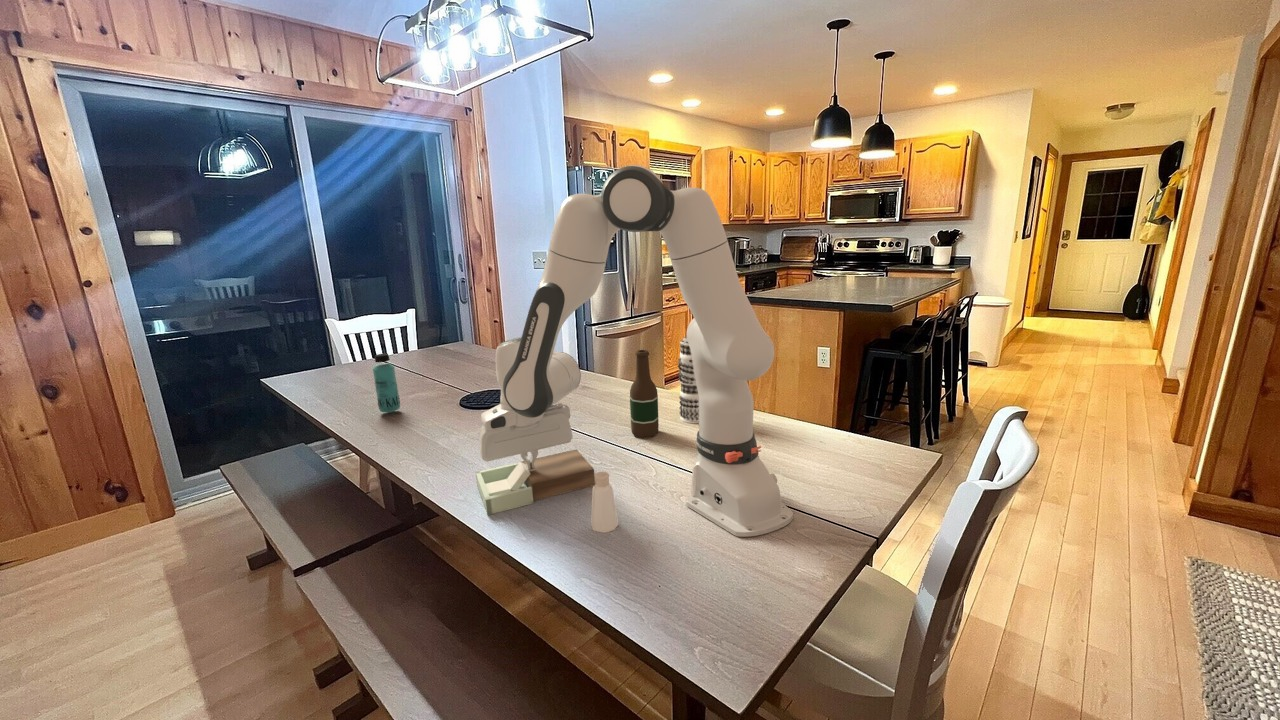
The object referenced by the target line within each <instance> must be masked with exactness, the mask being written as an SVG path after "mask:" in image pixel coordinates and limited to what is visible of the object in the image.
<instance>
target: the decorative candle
mask: <svg viewBox="0 0 1280 720" xmlns="http://www.w3.org/2000/svg"><path fill="white" fill-rule="evenodd" d="M679 344H680V347H679V350H680V352H679V358H678V360H677V363H678V365H677V368H678V375H679V376H678V381H679V383H680V391H679V393H680V395H679V397H678V398H679V400H680V401H679V407H678V409H679V410H680V411H679V415H680V417H679V419H680V421H681V422H683V423H687V424H699V400H698V391H697V385H696V379H695V374H694V368H693V362H692V355H691V350H690V347H689V344H688V341H687V336H684V337H683V338H682V339H681V340H680V341H679Z"/></svg>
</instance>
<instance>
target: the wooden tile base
mask: <svg viewBox="0 0 1280 720" xmlns="http://www.w3.org/2000/svg"><path fill="white" fill-rule="evenodd" d="M521 462H522V463H523V464H525V465H526V462H525V461H524V460H523V461H521ZM534 465H535V469H531V470H529V472H530V475H529V477H528V478H527V479H526V480H525V482H524V485H525V487H526V488H527V487H531V488H532V494H533V502H534V501H538V500H542V499H546V498H549V497H553V496H557V495H562V494H566V493H569V492H573V491H577V490H582V489H586V488H588V487H593V486H594V485H595V484H596V483H595V468H594V467H593V466H592V465H591V464H590V463H589V461H587V459H586V458H585V457H584V456H583V455H582V454H581V452H580V451H579V450H578V449H576V448H575V449H573V450H572V449H571V450H568V451H563V452H559V453H554V454H550V455H545V456H541V457H537V458H536V460H535V462H534Z"/></svg>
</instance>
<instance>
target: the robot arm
mask: <svg viewBox="0 0 1280 720" xmlns="http://www.w3.org/2000/svg"><path fill="white" fill-rule="evenodd" d="M620 230H622V231H625V232H630V233H642V232H643V233H645V232H659V234H660V235H661V237H662V238H663V241H664V244H665V246H666V249H667V252H668V256H669V259H670V262H671V265H672V268H673V272H674V274H675V278H676V281H677V285H678V286H679V290H680V293H681V297H682V299H683V301H684V302H685V303H686V306H687V307H688V309H689V310H690V312H691V314H692V317H693V318H692V320H690V322H689V324H688V326H687V328H686V337H687V341H688V344H689V347H690V350H691V355H692V362H693V368H694V374H695V379H696V385H697V391H698V400H699V423H698V431H697V433H696V438H695V439H696V441H695V443H696V451H697V456H696V459H695V461H694V463H693V466H692V472H691V473H692V474H691V484H690V495H689V496H688V497H687V499H686V501H685V505H686V507H687V508H690V509H691V510H693V511H695V512H696V513H698V514H699V515H701V516H702V517H704V518H706V519H707V520H710V522H712V523H713V524H715V525H717V526H719V527H720V528H722V529H724V530H726V531H727V532H729V533H730V534H732V535H734V536H735V537H742V538H743V537H748V538H749V537H756V536H762V535H765V534H768V533H772V532H775V531H777V530H779V529H780V530H781V528H784V527H785V526H787V525H788V524H790V523H791V522H792V520H793V519H794V512H793V511H792V510H791V509H790V508H789V507H788V506H786V504H785V503H784V502H782V500H781V499H782V498H781V490H780V487H779V485H778V484H777V483H778V479H777V476H776V474H774V473H770V472H769V470H768V468H767V467H766V465H765V464H764V463H763V461H762V459H761V458H760V456H759V452H760V453H761V452H762V450H761V448H762V446H761V445H760V446H758V444H757V442H758V441H757V439H756V436H755V434H754V406H755V405H754V401H755V400H754V397H753V394H752V391H751V389H750V386H749V384H748V381H754V380H757V379H759V378H761V377H762V376H764V375H765V374H766V373H767V372H768V370H770V368H771V366H772V364H773V363H774V362H773V361H774V358H775V345H774V343H773V340H772V339H771V337H770V336H769V334H768V333H767V332H766V331H765V330H764V328H763V326H762V324H761V323H760V321H759V319H758V317H757V314H756V313H755V309H754V308H753V306H752V305H751V302H750V300H749V298H748V296H747V294H746V293H745V289H744V288H743V286H742V283H741V280H740V278H739V275H738V272H737V269H736V265H735V261H734V259H733V255H732V251H731V248H730V245H729V242H728V241H729V240H728V237H727V234H726V230H725V227H724V225H723V223H722V219H721V218H720V215H719V212H718V210H717V207H716V205H715V204H714V202H713V200H712V198H711V196H710V195H709V193H708V192H707V191H706V190H704V189H702V188H698V187H693V186H692V187H683V188H681V189H677V190H671V189H669V188H668V186H666V185H665V183H663V181H662V180H661V178H660V177H659V176H658V175H657V174H656V173H655V172H654V171H653V170H652V169H650V168H647V167H646V166H644V165H643V166H642V165H640V164H639V165H637V164H630V165H626V166H623V167H620V168H618V169H616V170H614V171H613V172H612V173H611V174H610V175H609V176H608V177H607V178H606V180H605V181H604V184H603V186H602V188H601V193H600V194H596V195H595V194H589V193H584V192H582V193H574V194H571V195H569V196H567V197H565V199H564V200H563V201H562V202H561V205H560V208H559V210H558V213H557V216H556V219H555V222H554V225H553V228H552V231H551V235H550V236H551V237H550V240H549V246H548V252H547V255H546V260H545V265H544V269H543V272H542V275H541V278H540V282H539V284H538V286H537V289H536V290H535V293H534V296H533V298H532V301H531V303H530V306H529V309H528V313H527V317H526V320H525V324H524V328H523V330H522V334H521V336H519V337H515V338H511V339H508V340H505V341H503V342H501V343H499V344H498V346H497V347H496V349H495V357H494V358H495V360H494V361H495V373H496V380H497V384H498V386H499V389H500V396H499V397H500V401H499V402H500V403H499V404H498V405H495V406H494V407H491V408H490V409H488V410H486V411H484V412H482V413H481V415H480V421H481V424H482V426H481V427H480V428H479V431H478V434H479V435H478V445H479V446H478V447H479V448H478V449H479V454H480V457H481V459H482V460H483V461H484V462H487V463H489V462H492V461H496V460H500V459H504V458H508V457H513V456H516V455H520V457H521V459H522V460H523V461H525V462H526V466H527V469H528V470H531V469H535V465H534V462H535V460H536V458H538V456H539V450H543V449H544V450H545V449H548V448H551V447H556V446H561V445H564V444H568V443H571V442H572V439H573V431H572V427H571V422H570V418H571V409H570V407H569V406H568V405H567V404H563V403H562V402H560V401H561V400H563V399H564V398H566V397H567V396H569V395H570V394H572V393H573V392H574V391H575V390H577V388H578V387H579V385H580V383H581V380H582V377H581V369H580V367H579V366H580V365H579V364H578V362H577V361H576V359H575V358H574V357H573V356H571V355H570V354H568V353H567V352H562V351H556V350H555V346H556V344H557V340H558V337H559V333H560V331H561V328H562V326H564V324H565V322H566V321H567V320H568V318H569V317H570V316H571V315H572V314H573V313H575V311H576V310H577V309H579V308H580V307H581V306H582V305H583V304H585V303H586V302H587V301H588V300H590V299H591V298H592V297H593V296H594V295H595V294H596V292H597V290H598V289H599V286H600V283H601V282H602V279H603V276H604V272H605V269H606V264H607V258H608V254H609V249H610V246H611V242H612V239H613V237H614V236H615V234H616V233H617V232H618V231H620ZM558 402H560V403H558ZM529 453H530V454H531V455H530V456H529V455H528V454H529ZM528 456H529V459H528V458H527V457H528Z"/></svg>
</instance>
